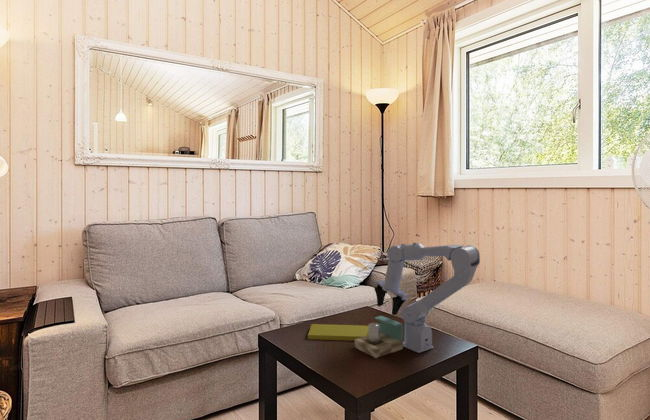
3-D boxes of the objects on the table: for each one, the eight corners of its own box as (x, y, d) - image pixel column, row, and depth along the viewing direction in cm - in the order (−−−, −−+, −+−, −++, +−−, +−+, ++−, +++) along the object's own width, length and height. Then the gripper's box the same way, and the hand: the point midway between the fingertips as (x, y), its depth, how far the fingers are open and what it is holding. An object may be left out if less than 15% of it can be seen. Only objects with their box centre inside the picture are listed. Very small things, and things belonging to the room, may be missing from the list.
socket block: (402, 349, 141) (402, 340, 141) (375, 358, 134) (375, 349, 134) (381, 339, 150) (381, 331, 150) (354, 347, 143) (354, 339, 143)
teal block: (402, 340, 141) (403, 323, 141) (395, 342, 139) (396, 325, 139) (381, 331, 150) (381, 315, 150) (374, 333, 148) (374, 317, 148)
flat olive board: (307, 340, 151) (371, 342, 148) (307, 334, 151) (371, 336, 148) (311, 329, 163) (371, 331, 160) (311, 324, 163) (371, 325, 160)
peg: (382, 350, 140) (382, 324, 140) (373, 352, 138) (373, 327, 137) (374, 346, 143) (374, 321, 143) (366, 349, 141) (366, 324, 141)
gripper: (372, 270, 152) (366, 303, 154) (401, 284, 141) (394, 320, 143) (385, 268, 156) (379, 300, 158) (413, 282, 145) (406, 317, 147)
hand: (387, 309), depth 151 cm, fingers open, 7 cm apart
